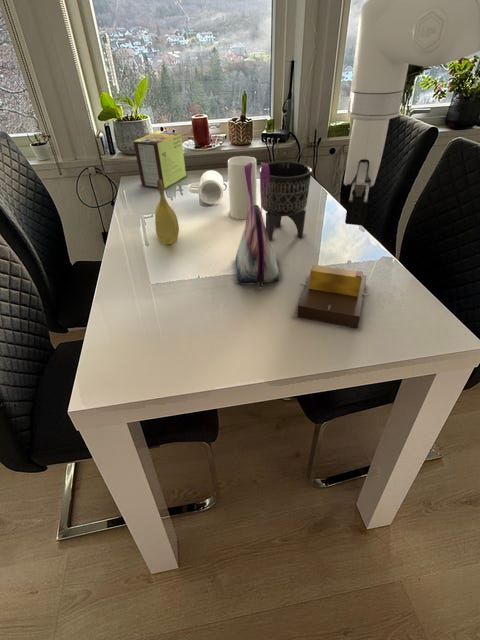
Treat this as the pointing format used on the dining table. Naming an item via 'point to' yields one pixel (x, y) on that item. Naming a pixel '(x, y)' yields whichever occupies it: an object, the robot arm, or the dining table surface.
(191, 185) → the mug
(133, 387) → the dining table surface
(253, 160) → the cup
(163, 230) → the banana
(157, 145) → the protein box
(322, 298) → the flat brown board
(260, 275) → the handbag
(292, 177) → the planter
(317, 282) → the yellow block
